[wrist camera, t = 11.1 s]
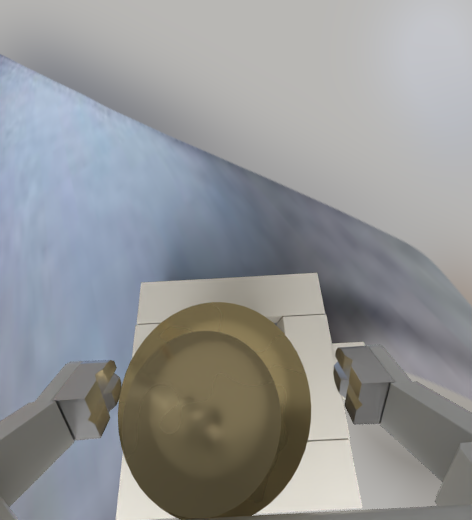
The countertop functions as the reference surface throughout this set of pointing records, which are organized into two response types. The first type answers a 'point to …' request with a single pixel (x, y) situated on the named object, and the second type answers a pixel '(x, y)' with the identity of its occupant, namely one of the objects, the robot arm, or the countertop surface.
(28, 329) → the countertop surface
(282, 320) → the socket mount
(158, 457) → the amber glass bottle
